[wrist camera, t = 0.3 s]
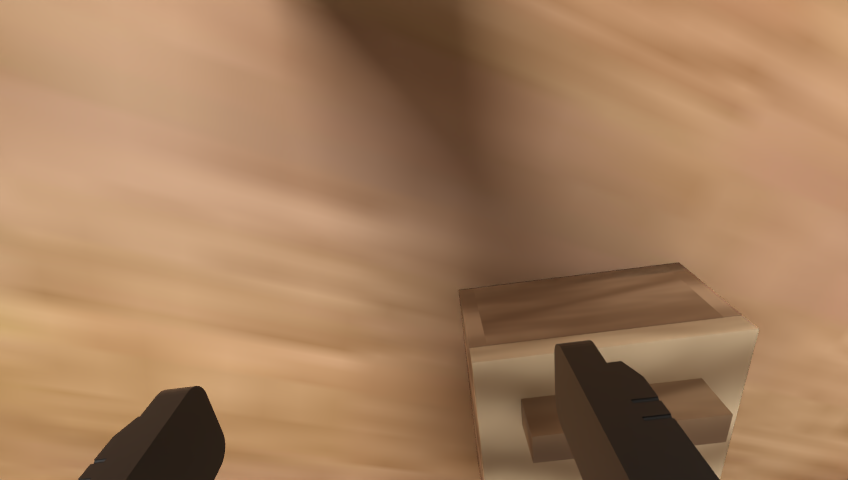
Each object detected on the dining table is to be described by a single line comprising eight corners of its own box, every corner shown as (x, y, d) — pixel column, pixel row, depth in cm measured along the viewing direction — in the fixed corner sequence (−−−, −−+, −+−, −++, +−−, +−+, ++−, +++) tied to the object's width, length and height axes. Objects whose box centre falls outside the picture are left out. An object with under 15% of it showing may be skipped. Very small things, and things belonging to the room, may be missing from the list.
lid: (469, 348, 23) (478, 399, 20) (742, 315, 23) (799, 361, 19) (489, 538, 31) (499, 598, 28) (694, 517, 30) (729, 575, 27)
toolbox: (458, 290, 29) (469, 347, 23) (679, 262, 28) (742, 314, 23) (483, 504, 39) (494, 579, 33) (645, 487, 38) (684, 560, 33)
